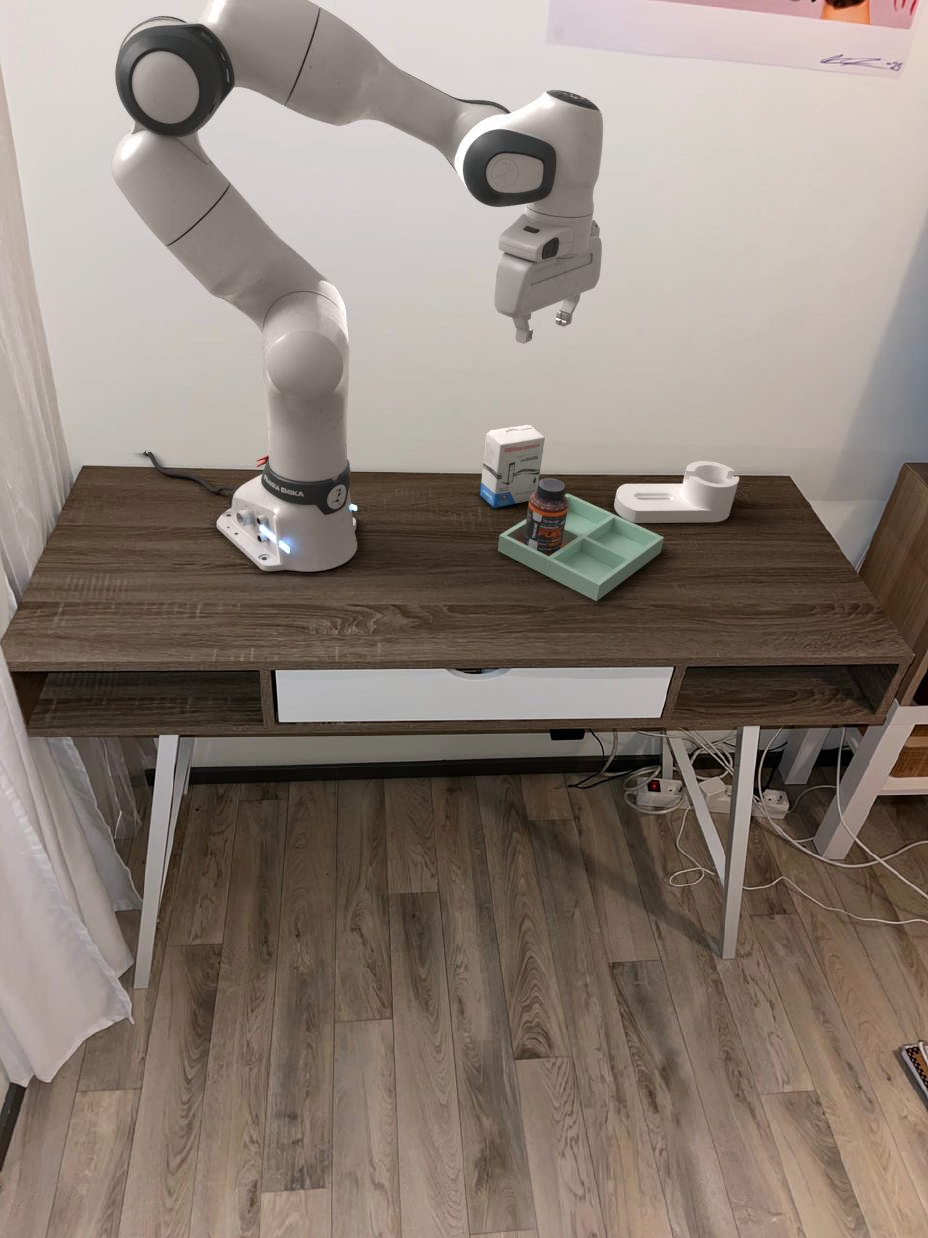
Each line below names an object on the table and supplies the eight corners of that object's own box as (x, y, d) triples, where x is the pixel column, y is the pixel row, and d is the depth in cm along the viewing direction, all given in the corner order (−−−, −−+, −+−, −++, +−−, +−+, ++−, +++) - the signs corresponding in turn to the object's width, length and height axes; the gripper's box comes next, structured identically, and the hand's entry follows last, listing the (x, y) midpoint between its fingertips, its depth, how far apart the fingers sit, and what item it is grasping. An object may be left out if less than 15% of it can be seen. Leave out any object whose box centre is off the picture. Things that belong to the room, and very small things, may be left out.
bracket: (719, 495, 175) (728, 461, 171) (736, 521, 168) (746, 487, 164) (608, 495, 172) (614, 460, 168) (621, 523, 165) (628, 487, 161)
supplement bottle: (535, 562, 153) (544, 497, 146) (515, 542, 157) (523, 478, 150) (568, 554, 155) (578, 490, 149) (548, 534, 160) (557, 471, 153)
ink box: (493, 509, 166) (500, 444, 158) (478, 494, 169) (485, 430, 162) (537, 499, 169) (546, 436, 162) (522, 485, 173) (530, 423, 165)
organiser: (497, 550, 156) (499, 534, 154) (565, 508, 168) (567, 493, 166) (596, 601, 147) (599, 585, 145) (660, 552, 159) (664, 537, 157)
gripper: (581, 211, 140) (567, 308, 148) (490, 238, 127) (480, 344, 135) (619, 222, 137) (603, 321, 145) (530, 251, 124) (518, 358, 132)
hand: (543, 332), depth 140 cm, fingers open, 8 cm apart
